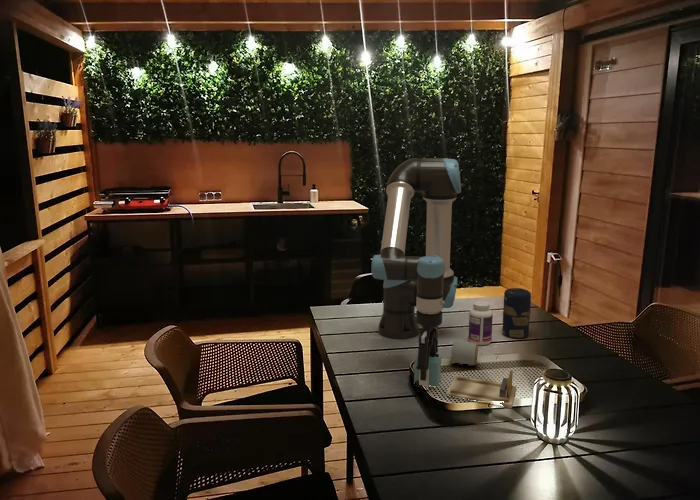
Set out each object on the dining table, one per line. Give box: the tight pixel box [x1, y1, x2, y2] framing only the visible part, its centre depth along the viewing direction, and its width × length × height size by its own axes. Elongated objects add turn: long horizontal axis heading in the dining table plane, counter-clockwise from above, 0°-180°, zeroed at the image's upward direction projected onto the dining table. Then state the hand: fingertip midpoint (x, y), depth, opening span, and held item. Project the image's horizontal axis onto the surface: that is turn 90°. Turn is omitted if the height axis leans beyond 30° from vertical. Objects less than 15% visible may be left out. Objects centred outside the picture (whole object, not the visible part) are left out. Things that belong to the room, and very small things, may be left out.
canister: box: [501, 287, 532, 339], centre depth 203 cm, size 10×10×18 cm
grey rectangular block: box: [450, 339, 479, 366], centre depth 180 cm, size 11×8×8 cm
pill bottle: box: [468, 300, 494, 346], centre depth 196 cm, size 8×8×14 cm
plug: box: [413, 355, 442, 387], centre depth 164 cm, size 7×4×8 cm, turn 68°
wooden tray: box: [445, 370, 517, 409], centre depth 158 cm, size 18×12×7 cm, turn 68°
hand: (427, 383), depth 165 cm, fingers open, 8 cm apart
